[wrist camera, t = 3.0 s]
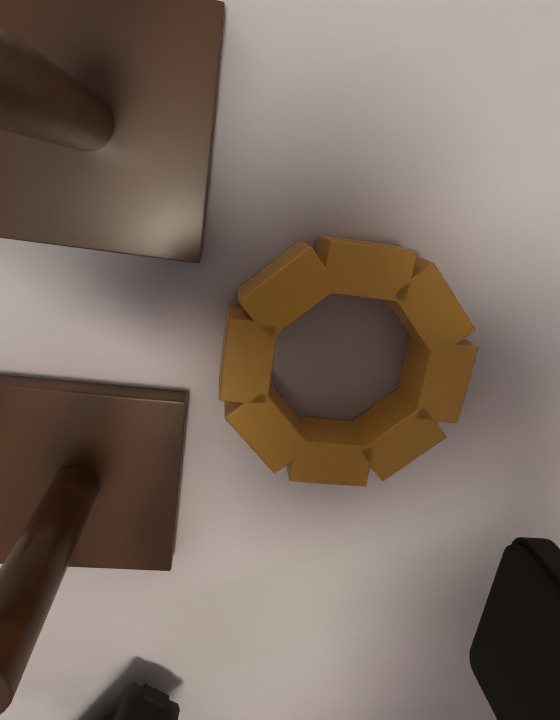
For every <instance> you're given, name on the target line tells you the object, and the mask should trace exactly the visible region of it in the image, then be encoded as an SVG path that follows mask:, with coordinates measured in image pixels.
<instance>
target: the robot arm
mask: <svg viewBox="0 0 560 720" xmlns="http://www.w3.org/2000/svg"><path fill="white" fill-rule="evenodd" d="M469 658H470V664H471V668H472V671H473V673H474V675H475V677H476V679H477V681H478V683H479V685H480V687H481V689H482V691H483V693H484V695H485V697H486V699H487V701H488V703H489V704H490V706H491V708H492V710H493V712H494V714H495V716H496V718H497V720H560V549H559V548H558V547H557V546H556V544H555V543H553V542H552V541H551V540H549V539H544V538H523V537H520V538H516V539H515V540H514V541H513V542H512V544H511V545H508V546H507V547H506V548H505V550H504V552H503V555H502V558H501V561H500V564H499V567H498V570H497V573H496V575H495V578H494V581H493V584H492V587H491V590H490V593H489V596H488V599H487V602H486V605H485V607H484V610H483V613H482V616H481V619H480V622H479V625H478V628H477V631H476V634H475V636H474V639H473V642H472V645H471V648H470V657H469Z"/></svg>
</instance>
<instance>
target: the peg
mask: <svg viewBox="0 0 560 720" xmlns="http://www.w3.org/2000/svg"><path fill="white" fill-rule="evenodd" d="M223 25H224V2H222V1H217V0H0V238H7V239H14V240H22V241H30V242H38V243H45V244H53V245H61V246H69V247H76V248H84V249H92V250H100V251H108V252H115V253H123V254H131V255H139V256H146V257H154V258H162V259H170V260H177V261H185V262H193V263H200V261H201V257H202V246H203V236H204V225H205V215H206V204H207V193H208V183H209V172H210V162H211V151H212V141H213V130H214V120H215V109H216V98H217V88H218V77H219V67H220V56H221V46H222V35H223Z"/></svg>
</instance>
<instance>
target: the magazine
mask: <svg viewBox="0 0 560 720" xmlns="http://www.w3.org/2000/svg"><path fill="white" fill-rule="evenodd" d="M179 711H180V709H179V705H178V704H177V703H175V702H173V701H171V700H169V695H167V694H165V693H163V692H161V691H159V690H157V689H155V688H153V687H151V686H149V685H148V684H145V685H143V686H141V685H139V684H137V683H135V682H132V683H130V684H129V685H127V686H126V687H125V688H124V690H123V693H122V694H121V695H120V696H119V697H118V698H116V699H115V700H114V701H113V702H112V703H110V704H109V705H108V706H107V707H106V708H105V709H103V710H102V711H101V712H100V713H99V714H97V715H96V716H95V717H94V718H93V719H92V720H178V716H179Z"/></svg>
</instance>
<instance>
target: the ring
mask: <svg viewBox="0 0 560 720" xmlns="http://www.w3.org/2000/svg"><path fill="white" fill-rule="evenodd" d="M237 292H238V301H239V304H240V305H241V306H235V305H228V306H227V314H226V323H225V332H224V341H223V350H222V359H221V367H220V376H219V400H220V401H225V419H226V420H227V421H228V422H229V423H230V425H231V426H232V427H233V428H234V429H235V430H236V431H237V432H238V434H239V435H240V436H241V437H242V438H243V439H244V440H245V441H246V442H247V444H248V445H249V446H250V447H251V448H252V449H253V450H254V451H255V452H256V454H257V455H258V456H259V457H260V458H261V459H262V460H263V461H264V463H265V464H266V465H267V466H268V467H269V468H270V469H271V470H272V471H273V472H274V473H276V472H277V471H279V470H280V469H282V468H283V467H284V466H287V471H288V475H289V480H290V481H296V482H310V483H324V484H338V485H352V486H366V483H367V479H368V474H369V470H370V467H371V468H372V469H373V471H374V472H375V473H376V474H377V476H378V477H379V478H380V479H381V480H382V481H384V480H385V479H387V478H388V477H390V476H391V475H393V474H394V473H395V472H397V471H398V470H400V469H401V468H403V467H404V466H406V465H407V464H408V463H410V462H411V461H413V460H414V459H416V458H417V457H419V456H420V455H421V454H423V453H424V452H426V451H427V450H429V449H430V448H432V447H433V446H434V445H436V444H437V443H439V442H440V441H442V440H443V439H445V438H446V435H445V433H444V432H443V430H442V429H441V428H440V426H439V425H438V423H437V422H436V421H443V422H454V423H457V422H458V419H459V415H460V412H461V408H462V404H463V401H464V397H465V394H466V390H467V386H468V383H469V379H470V375H471V372H472V368H473V364H474V361H475V357H476V353H477V350H478V347H476V346H475V345H473V344H472V343H470V342H468V341H467V340H465V339H464V338H465V337H467V336H468V335H470V334H471V333H472V332H474V331H475V328H474V326H473V324H472V323H471V321H470V320H469V318H468V316H467V315H466V313H465V312H464V310H463V308H462V307H461V305H460V304H459V302H458V300H457V299H456V297H455V296H454V294H453V292H452V291H451V289H450V288H449V286H448V285H447V283H446V281H445V280H444V278H443V277H442V275H441V273H440V272H439V270H438V269H437V267H436V265H435V264H434V263H433V262H430V261H427V260H424V259H421V258H419V257H417V252H415V251H412V250H409V249H406V248H403V247H400V246H397V245H392V244H385V243H378V242H371V241H364V240H357V239H350V238H343V237H336V236H329V235H322V234H320V235H319V236H318V242H317V248H316V252H315V251H314V249H313V248H312V247H311V246H310V245H308V244H307V243H305V242H304V241H302V240H299V241H298V242H297V243H295V244H294V245H293V246H292V247H290V248H289V249H288V250H286V251H285V252H284V253H283V254H281V255H280V256H279V257H277V258H276V259H275V260H274V261H272V262H271V263H270V264H268V265H267V266H266V267H264V268H263V269H262V270H261V271H259V272H258V273H257V274H255V275H254V276H253V277H252V278H250V279H249V280H248V281H246V282H245V283H244V284H243V285H241V286H240V287H239V288H238V289H237ZM331 293H333V294H341V295H349V296H357V297H365V298H373V299H381V300H386V301H387V302H388V304H389V305H390V307H391V308H392V310H393V311H394V313H395V314H396V315H397V317H398V318H399V320H400V321H401V323H402V324H403V326H404V327H405V329H406V330H407V332H408V333H409V335H410V336H409V341H408V345H407V349H406V354H405V358H404V362H403V367H402V371H401V375H400V380H399V384H398V389H396V390H395V391H393V392H392V393H391V394H389V395H388V396H386V397H385V398H384V399H382V400H381V401H379V402H378V403H377V404H375V405H374V406H372V407H371V408H370V409H368V410H367V411H365V412H364V413H363V414H361V415H360V416H358V417H357V418H356V419H354V420H353V421H348V420H337V419H326V418H315V417H303V416H297V415H296V413H295V412H294V411H293V410H292V409H291V407H290V406H289V405H288V404H287V402H286V401H285V400H284V399H283V398H282V396H281V395H280V394H279V393H278V392H277V390H276V389H275V388H274V387H273V386H272V384H271V383H270V381H271V374H272V367H273V360H274V354H275V347H276V340H277V334H278V333H279V332H281V331H282V330H283V329H285V328H286V327H287V326H289V325H290V324H291V323H293V322H294V321H295V320H297V319H298V318H299V317H301V316H302V315H303V314H305V313H306V312H307V311H309V310H310V309H311V308H313V307H314V306H315V305H317V304H318V303H319V302H321V301H322V300H323V299H325V298H326V297H327V296H329V295H330V294H331Z"/></svg>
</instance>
